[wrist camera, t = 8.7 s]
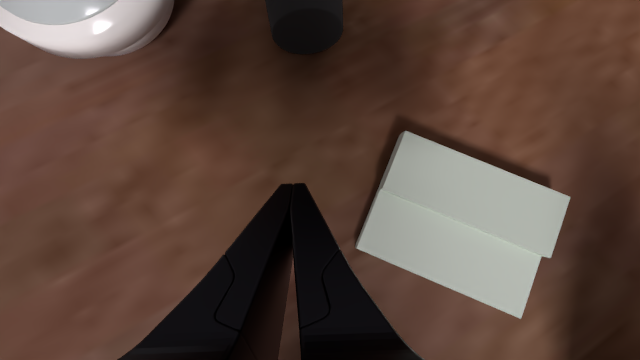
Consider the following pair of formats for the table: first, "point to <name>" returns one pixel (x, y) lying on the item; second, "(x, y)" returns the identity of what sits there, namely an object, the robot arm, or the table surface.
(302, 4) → the drinking cup
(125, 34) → the bowl
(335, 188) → the table surface
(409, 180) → the napkin
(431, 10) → the table surface
